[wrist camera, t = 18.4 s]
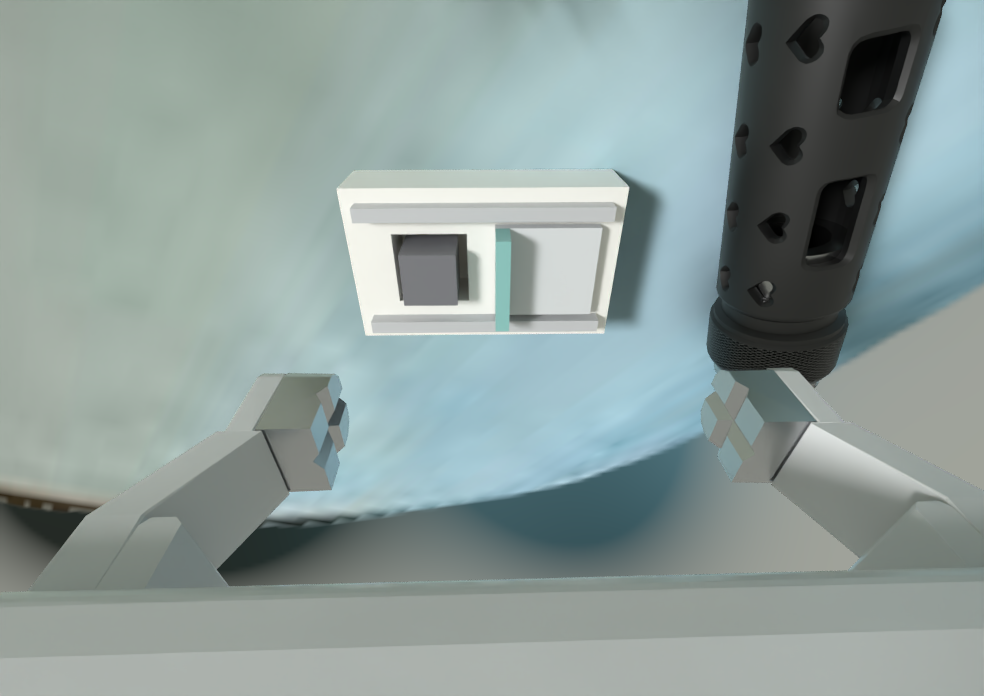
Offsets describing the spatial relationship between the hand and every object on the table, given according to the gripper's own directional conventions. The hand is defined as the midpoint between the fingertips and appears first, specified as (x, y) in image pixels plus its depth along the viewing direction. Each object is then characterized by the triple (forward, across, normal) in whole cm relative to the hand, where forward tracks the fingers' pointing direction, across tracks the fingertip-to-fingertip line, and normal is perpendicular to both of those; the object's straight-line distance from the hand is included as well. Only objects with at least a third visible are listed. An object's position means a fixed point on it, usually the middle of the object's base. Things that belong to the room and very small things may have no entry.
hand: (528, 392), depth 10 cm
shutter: (+23, -4, +9) cm, 25 cm away
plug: (+27, +4, +9) cm, 29 cm away
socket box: (+28, 0, +9) cm, 30 cm away
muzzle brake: (+28, -22, +5) cm, 36 cm away
